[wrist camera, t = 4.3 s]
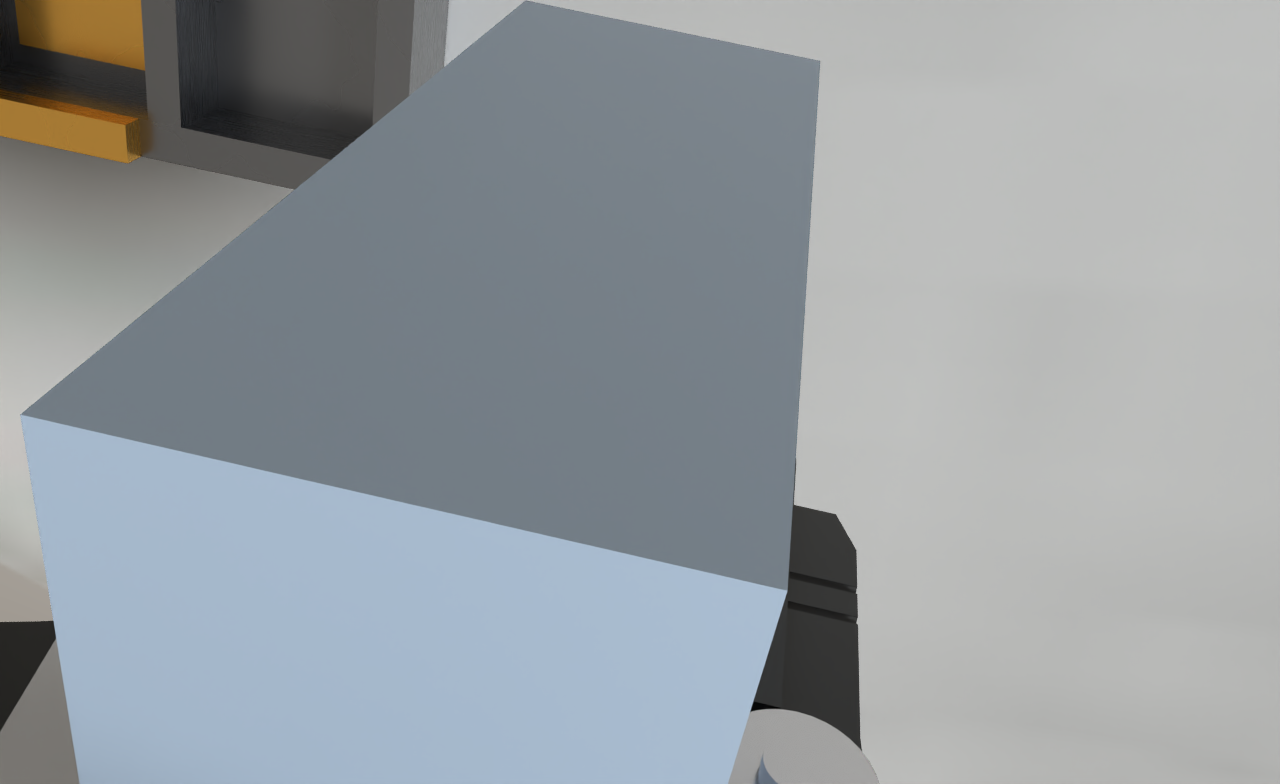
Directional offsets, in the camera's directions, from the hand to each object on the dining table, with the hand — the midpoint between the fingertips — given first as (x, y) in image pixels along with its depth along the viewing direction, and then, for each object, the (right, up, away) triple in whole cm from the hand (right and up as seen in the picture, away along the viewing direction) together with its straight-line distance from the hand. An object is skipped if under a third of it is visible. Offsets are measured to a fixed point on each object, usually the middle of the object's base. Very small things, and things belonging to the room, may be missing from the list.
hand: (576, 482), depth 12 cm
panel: (0, +1, +1) cm, 2 cm away
